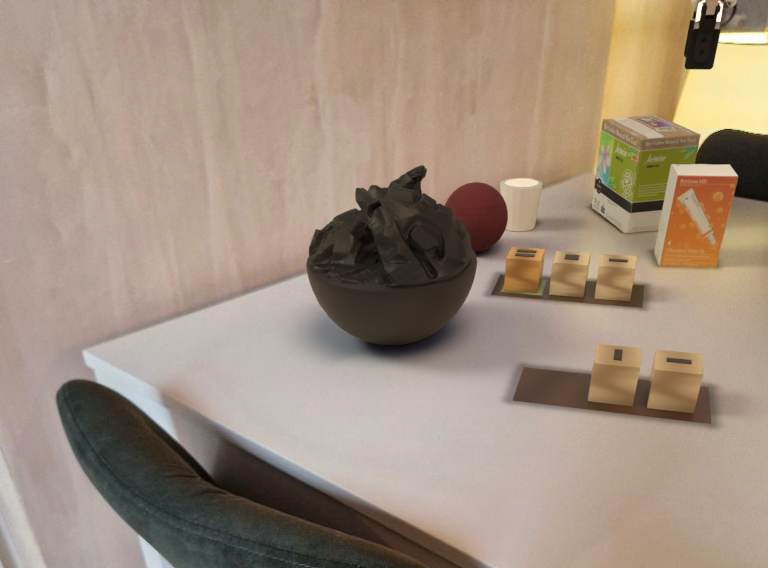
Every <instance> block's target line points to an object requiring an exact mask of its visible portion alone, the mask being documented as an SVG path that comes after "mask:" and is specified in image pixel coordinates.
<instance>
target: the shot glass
mask: <svg viewBox="0 0 768 568" xmlns="http://www.w3.org/2000/svg"><path fill="white" fill-rule="evenodd" d="M543 184H544V183H543V181H542V180H539V179H536V178H531V177H510V178H506V179H503V180H501V181H500V183H499V189H500V190H499V193H500V194H501V195H502V197H503V198H504V200H505V203H506V206H507V211H508V221H507V226H506V229H505V231H510V232H528V231H532V230H534V229H535V227H536V223H537V217H538V212H539V207H540V202H541V196H542V192H543V191H542V190H543Z"/></svg>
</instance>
